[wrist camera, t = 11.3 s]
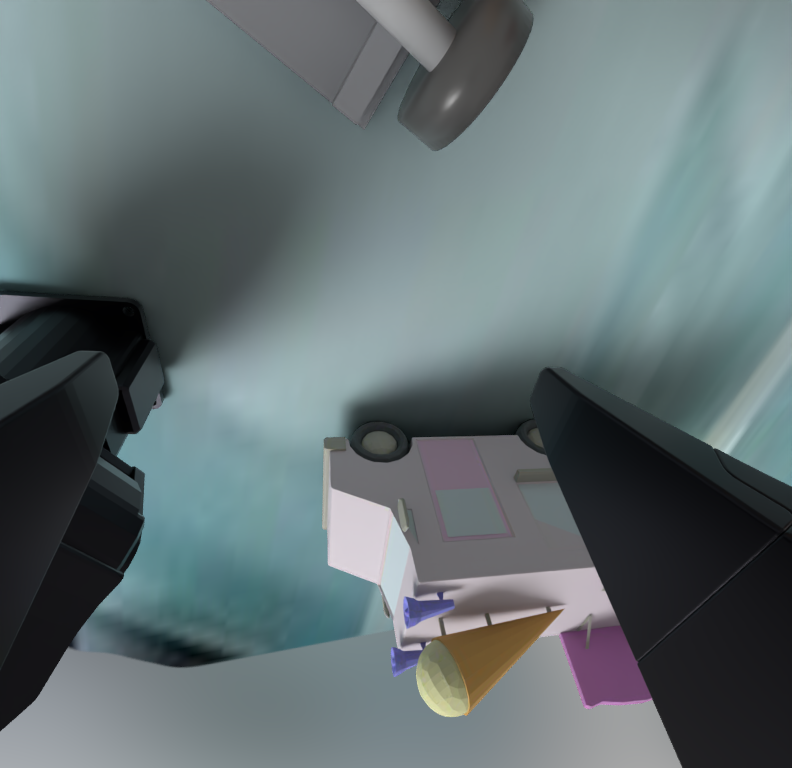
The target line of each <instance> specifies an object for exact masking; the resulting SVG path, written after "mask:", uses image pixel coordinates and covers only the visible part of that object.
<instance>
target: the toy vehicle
mask: <svg viewBox="0 0 792 768" xmlns="http://www.w3.org/2000/svg"><path fill="white" fill-rule="evenodd" d="M322 528H323V529H324V530H327V539H328V564H329V566H332V567H334V568H337V569H339V570H342V571H345V572H347V573H350V574H353V575H355V576H358V577H361V578H363V579H366V580H368V581H371V582H374V583H376V584H377V585H378V587H379V589H380V592H381V594H382V601H383V609H384V613H385V615H386V617H387V618H389V616H390V615H391V618H392V620H393V624H394V630H395V635H396V641H397V646H398V648H394V647H392V648H391V662H392V671H393V676H394V677H396V676H397V675H399V674H401V673H402V672H404V671H405V670H407V669H409V668H411V667H414V666H416V665H417V670H416V678H417V685H418V688H419V691H420V695H421V696H422V698H423V699H424V701H425V702H426V704H427V705H428V706H429V707H430V708H431V709H432V710H434V711H435V712H436V713H438V714H440V715H442V716H446V717H457V716H460V715H463V714H464V715H468V714H469V713H470V712H471V711H472V709H473V708H474V707H475V706H476V705H477V704H478V703H479V702H480V701H481V700H482V698H483V697H484V696H485V695H486V694H487V693H488V692H489V691H490V690H491V689H492V688H493V686H494V685H495V684H496V683H497V682H498V681H499V680H500V679H501V678H502V677H503V676H504V675H505V673H506V672H507V671H508V670H509V669H510V668H511V667H512V666H513V665H514V664H515V663H516V662H517V660H518V659H519V658H520V657H521V656H522V655H523V654H524V653H525V652H526V651H527V649H528V648H529V647H530V646H531V645H532V644H533V643H534V642H535V641H536V640H537V639H538V638H539V637H544V636H552V635H559V636H560V639H561V642H562V645H563V648H564V651H565V653H566V657H567V660H568V663H569V665H570V668H571V671H572V674H573V677H574V680H575V683H576V685H577V688H578V691H579V694H580V697H581V700H582V703H583V706H584V707H585V708H587V709H591V708H593V707H595V706H598V705H600V704H607V705H626V704H637V703H644V702H647V701H650V700H653V699H652V697H651V695H650V693H649V690H648V688H647V686H646V683H645V681H644V679H643V677H642V674H641V672H640V670H639V668H638V665H637V663H638V662H637V661H636V660H635V658H634V656H633V653H632V651H631V649H630V646H629V644H628V642H627V640H626V637H625V635H624V633H623V630H622V628H621V626H620V624H619V621H618V619H617V617H616V615H615V612H614V610H613V608H612V605H611V603H610V601H609V599H608V596H607V594H606V592H605V589H604V587H603V585H602V583H601V580H600V578H599V576H598V573H597V571H596V569H595V567H594V564H593V562H592V560H591V558H590V555H589V553H588V551H587V548H586V546H585V544H584V542H583V539H582V537H581V535H580V532H579V530H578V528H577V526H576V523H575V521H574V519H573V516H572V514H571V512H570V510H569V507H568V505H567V503H566V501H565V498H564V496H563V494H562V491H561V489H560V487H559V485H558V482H557V480H556V478H555V475H554V473H553V471H552V469H551V466H550V464H549V461H548V459H547V456H546V453H545V450H544V447H543V444H542V440H541V437H540V434H539V431H538V428H537V424H536V421H535V420H529V421H527V422H525V423H523V424H522V425H521V426H520V427H519V428H518V429H517V431H516V433H515V435H500V436H456V437H413V438H412V440H411V444H410V448H409V452H408V441H407V438H406V436H405V435H404V433H403V432H402V430H401V429H399V428H398V427H396V426H395V425H393V424H389V423H386V422H378V421H376V422H369V423H366V424H364V425H362V426H360V427H359V428H358V429H357V430H356V431H355V432H354V434H353V435H352V437H351V441H350V445H349V440H348V439H345V437H331V438H325V439H324V456H323V513H322Z"/></svg>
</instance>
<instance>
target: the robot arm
mask: <svg viewBox="0 0 792 768" xmlns="http://www.w3.org/2000/svg"><path fill="white" fill-rule="evenodd" d="M126 307H131V308H132V309H133V310H134V313H132V312H129V311H128V310H127V309H126ZM163 384H164V376H163V372H162V367H161V363H160V358H159V354H158V350H157V345H156V343H155V342H154V341H153V340H152V339H150V337H149V332H148V328H147V324H146V319H145V315H144V311H143V308H142V305H141V304H140V303H139V302H138V301H136V300H134V299H130V298H115V297H98V296H81V295H64V294H47V293H29V292H12V291H0V731H1V730H2V729H3V728H5V727H6V726H7V725H8V724H9V723H10V722H11V721H12V720H14V719H15V718H16V717H17V716H18V715H19V714H20V713H22V712H23V710H25V709H26V708H27V707H28V706H29V705H31V704H32V702H34V701H35V699H36V698H37V697H38V695H39V694H40V692H41V691H42V689H43V687H44V686H45V684H46V682H47V681H48V679H49V677H50V675H51V674H52V672H53V671H54V669H55V667H56V666H57V664H58V662H59V661H60V659H61V657H62V656H63V654H64V652H65V651H66V649H67V648H68V646H69V645H70V643H71V642H72V640H73V639H74V637H75V636H76V634H77V632H78V631H79V630H80V629H81V627H82V626H83V625H84V623H85V622H86V621H87V619H88V618H89V617H90V616H91V614H92V613H93V612H94V610H95V609H96V608H97V606H98V605H99V604H100V603H101V602H102V601H103V600H104V599H105V598H106V597H107V596H108V595H109V594H110V593H111V592H112V590H113V589H114V588H115V587H116V586H117V585H118V584H119V583H120V582H121V581H122V579H123V577H124V572H125V571H126V569H127V568H128V567H129V565H130V563H131V561H132V560H133V558H134V556H135V554H136V552H137V549H138V547H139V544H140V540H141V534H142V530H143V527H144V520H145V518H144V516H143V497H144V477H145V474H144V473H143V472H142V471H141V470H139V469H138V468H136V467H131V466H129V465H128V464H126V463H125V462H123V461H122V460H121V459H119V458H118V457H117V455H118V453H119V451H120V449H121V447H122V445H123V443H124V441H125V439H126V437H127V435H128V434H137V433H138V432H139V431H140V430H141V429H142V427H143V425H144V423H145V421H146V419H147V417H148V415H149V413H150V411H151V409H157V408H159V407H160V406H161V405H162V402H163V400H164V397H163V393H162V386H163ZM530 405H531V408H532V412H533V415H534V418H535V421H536V424H537V428H538V431H539V434H540V437H541V440H542V444H543V447H544V450H545V453H546V456H547V459H548V461H549V464H550V466H551V469H552V471H553V473H554V475H555V478H556V480H557V482H558V485H559V487H560V489H561V491H562V494H563V496H564V498H565V501H566V503H567V505H568V507H569V510H570V512H571V514H572V516H573V519H574V521H575V523H576V526H577V528H578V530H579V532H580V535H581V537H582V539H583V542H584V544H585V546H586V548H587V551H588V553H589V555H590V558H591V560H592V562H593V564H594V567H595V569H596V571H597V573H598V576H599V578H600V580H601V583H602V585H603V587H604V589H605V592H606V594H607V596H608V599H609V601H610V603H611V605H612V608H613V610H614V612H615V615H616V617H617V619H618V621H619V624H620V626H621V628H622V630H623V633H624V635H625V637H626V640H627V642H628V644H629V646H630V649H631V651H632V653H633V656H634V658H635V660H636V661H637V662H638V663H637V665H638V668H639V670H640V672H641V674H642V677H643V679H644V681H645V683H646V686H647V688H648V690H649V693H650V695H651V697H652V699H653V701H654V704H655V706H656V709H657V711H658V713H659V715H660V718H661V720H662V722H663V725H664V727H665V729H666V731H667V734H668V736H669V738H670V740H671V743H672V745H673V747H674V750H675V752H676V754H677V757H678V759H679V761H680V763H681V765H682V768H792V487H791V486H789V485H787V484H785V483H783V482H781V481H779V480H777V479H775V478H773V477H771V476H769V475H767V474H765V473H763V472H761V471H759V470H757V469H755V468H753V467H751V466H749V465H747V464H745V463H743V462H741V461H739V460H737V459H735V458H733V457H731V456H730V455H728V454H726V453H724V452H722V451H720V450H718V449H713V447H712V446H710V445H708V444H706V443H705V442H703V441H701V440H699V439H697V438H695V437H693V436H691V435H689V434H687V433H686V432H684V431H682V430H680V429H678V428H676V427H674V426H672V425H670V424H668V423H666V422H665V421H663V420H661V419H659V418H657V417H655V416H653V415H651V414H649V413H647V412H645V411H644V410H642V409H640V408H638V407H636V406H634V405H632V404H630V403H628V402H626V401H624V400H623V399H621V398H619V397H617V396H615V395H613V394H611V393H609V392H607V391H605V390H604V389H602V388H600V387H598V386H596V385H594V384H592V383H590V382H588V381H586V380H584V379H583V378H581V377H579V376H577V375H575V374H573V373H571V372H569V371H567V370H565V369H563V368H560V367H545V368H544V369H542V371H541V372H540V374H539V377H538V379H537V381H536V384H535V386H534V389H533V391H532V394H531V397H530Z"/></svg>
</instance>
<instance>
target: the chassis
mask: <svg viewBox="0 0 792 768" xmlns="http://www.w3.org/2000/svg"><path fill="white" fill-rule="evenodd" d="M206 1H208V2H209V3H210V4H211V5H213V6H214V7H215V8H216V9H217V10H219V11H220V12H221V13H222V14H224V15H225V16H226V17H227V18H228V19H230V20H231V21H232V22H233V23H234V24H236V25H237V26H238V27H239V28H241V29H242V30H243V31H244V32H245V33H247V34H248V35H249V36H250V37H252V38H253V39H254V40H255V41H256V42H258V43H259V44H260V45H261V46H263V47H264V48H265V49H266V50H267V51H269V52H270V53H271V54H272V55H274V56H275V57H276V58H277V59H278V60H280V61H281V62H282V63H283V64H284V65H286V66H287V67H288V68H289V69H291V70H292V71H293V72H294V73H295V74H297V75H298V76H299V77H300V78H302V79H303V80H304V81H305V82H306V83H308V84H309V85H310V86H311V87H313V88H314V89H315V90H316V91H317V92H319V93H320V94H321V95H322V96H324V97H325V98H326V99H327V100H328V101H330V102H331V103H332V105H333V106H334V107H335V108H336V109H337V110H339V111H340V112H341V113H342V114H344V115H345V116H346V117H347V118H348V119H350V120H351V121H352V122H353V123H355V124H356V125H357V124H358V125H359V126H360V127H361V128H363V129H365V127H366V126H367V124H368V122H369V121H370V119H371V117H372V115H373V114H374V112H375V110H376V109H377V107H378V105H379V104H380V102H381V100H382V99H383V97H384V95H385V93H386V92H387V90H388V88H389V87H390V85H391V83H392V82H393V80H394V78H395V76H396V75H397V73H398V71H399V70H400V68H401V66H402V65H403V63H404V61H405V59H406V58H407V56H408V54H409V53H410V54H411V55H412V56H413V57H414V58H415V59H416V60H417V61H418V62H419V63H420V64H421V65H420V67H419V68H418V70H417V72H416V74H415V76H414V77H413V79H412V81H411V83H410V85H409V87H408V89H407V91H406V93H405V96H404V98H403V100H402V103H401V106H400V109H399V112H398V121H399V122H400V123H401V124H402V125H404V126H405V127H406V128H407V129H408V130H409V131H410V132H412V133H413V134H414V135H415V136H416V137H417V138H418V139H420V140H421V141H422V142H423V143H424V144H425V145H426V146H428V147H429V148H430V149H431V150H433V151H438V150H440V149H442V148H444V147H446V146H447V145H449V144H450V143H451V142H453V141H454V140H455V139H456V138H457V137H458V136H459V135H460V134H461V133H463V132H464V131H465V129H466V128H467V127H468V126H469V125H470V124H471V123H472V122H473V121H474V120H475V119H476V118H477V116H478V115H479V114H480V113H481V112H482V110H483V109H484V108H485V107H486V105H487V104H488V103H489V101H490V100H491V99H492V98H493V96H494V95H495V93H496V92H497V91H498V89H499V88H500V86H501V85H502V83H503V82H504V81H505V79H506V78H507V76H508V74H509V73H510V71H511V70H512V68H513V66H514V65H515V63H516V61H517V59H518V58H519V56H520V54H521V52H522V50H523V48H524V46H525V44H526V42H527V39H528V37H529V34H530V32H531V28H532V25H533V14H532V12H531V11H530V10H529V9H528V7H527V6H526V5H525V4H524V2H523V1H522V0H464V1H463V2H462V3H461V4H460V6H459V7H458V8H457V10H456V11H455V12H454V14H453V15H452V17H451V18H450V19H449V21H447V20H446V19H445V17H444V16H443V15H442V14H441V13H440V12H439V11H438V10H437V9H436V7H437V5H438V3H439V2H440V0H206Z"/></svg>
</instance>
